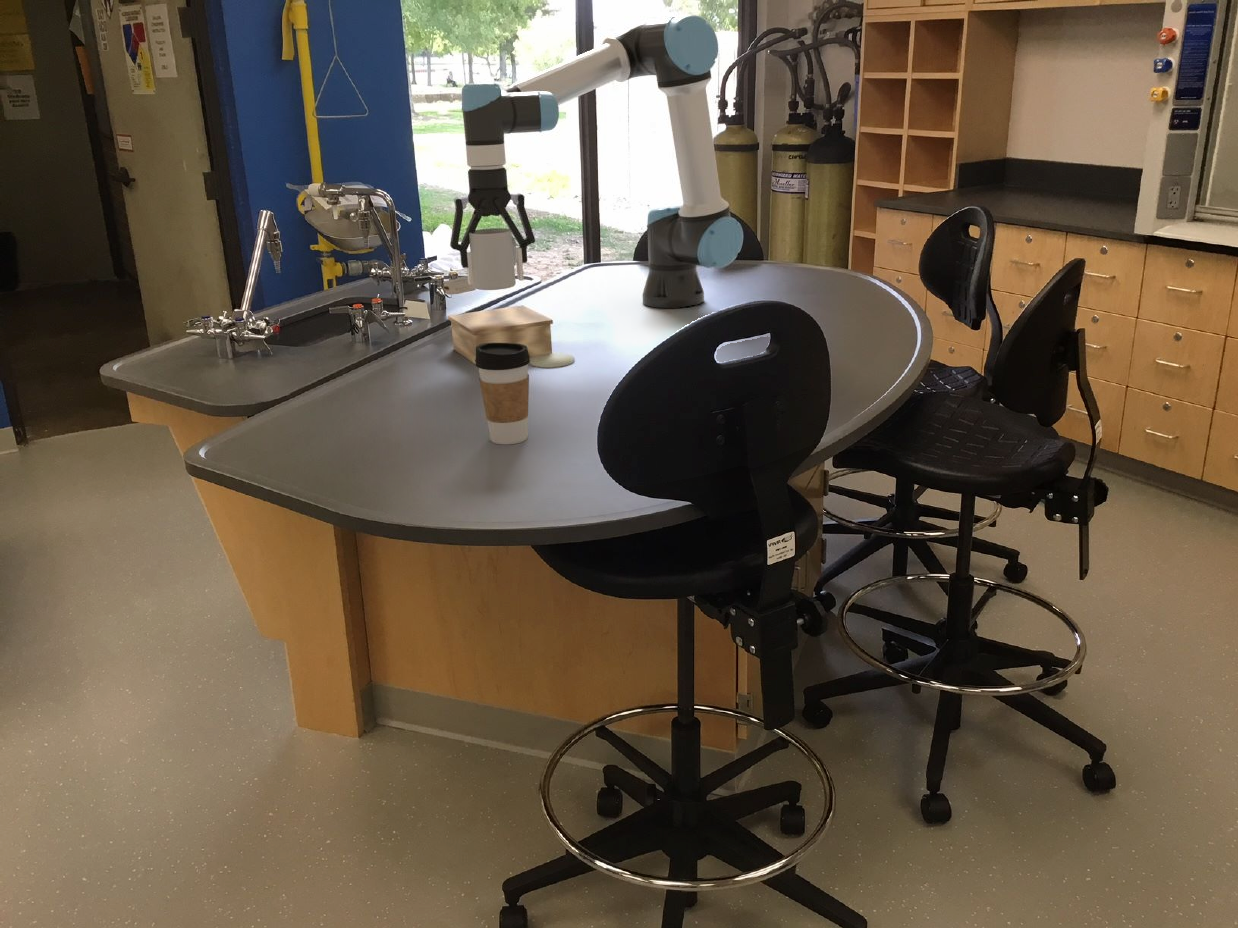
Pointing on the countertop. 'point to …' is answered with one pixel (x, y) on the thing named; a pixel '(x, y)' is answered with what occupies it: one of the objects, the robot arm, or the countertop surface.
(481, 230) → the mug
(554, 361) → the felt coaster
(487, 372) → the coffee cup
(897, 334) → the countertop surface
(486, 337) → the maple box
